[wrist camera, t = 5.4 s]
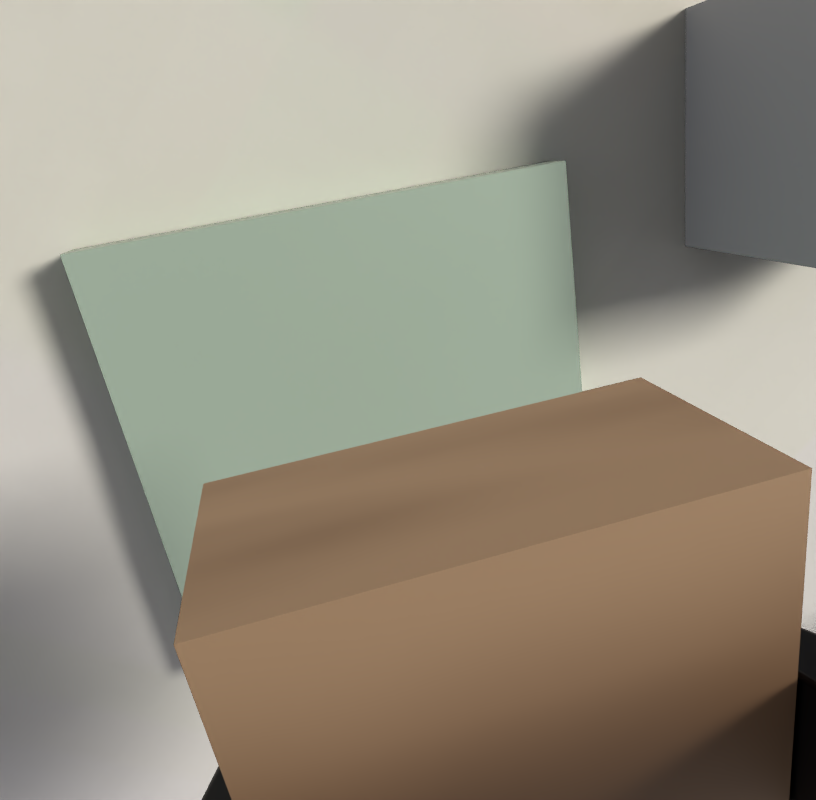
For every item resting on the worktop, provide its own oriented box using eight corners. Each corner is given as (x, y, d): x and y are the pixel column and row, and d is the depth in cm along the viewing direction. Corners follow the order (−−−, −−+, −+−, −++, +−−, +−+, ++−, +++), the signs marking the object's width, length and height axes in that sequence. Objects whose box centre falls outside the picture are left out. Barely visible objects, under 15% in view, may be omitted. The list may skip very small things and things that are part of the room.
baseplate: (579, 545, 21) (594, 562, 20) (211, 649, 19) (209, 672, 18) (548, 161, 17) (565, 160, 16) (72, 250, 15) (60, 255, 14)
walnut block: (653, 745, 11) (780, 927, 9) (321, 856, 11) (343, 1096, 8) (640, 376, 9) (811, 469, 6) (203, 483, 8) (173, 644, 5)
